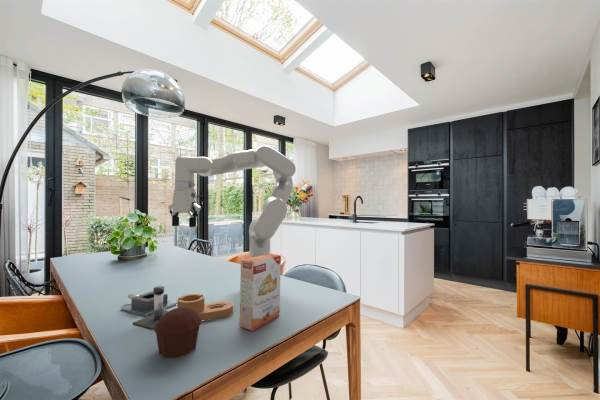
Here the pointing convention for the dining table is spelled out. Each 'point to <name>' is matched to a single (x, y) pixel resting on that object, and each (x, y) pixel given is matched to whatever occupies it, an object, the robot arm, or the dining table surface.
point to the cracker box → (259, 290)
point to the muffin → (177, 332)
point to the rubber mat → (148, 321)
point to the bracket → (205, 306)
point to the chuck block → (145, 304)
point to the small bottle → (158, 302)
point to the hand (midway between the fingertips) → (183, 226)
